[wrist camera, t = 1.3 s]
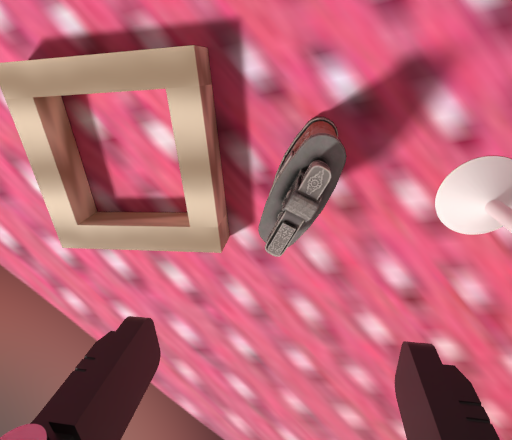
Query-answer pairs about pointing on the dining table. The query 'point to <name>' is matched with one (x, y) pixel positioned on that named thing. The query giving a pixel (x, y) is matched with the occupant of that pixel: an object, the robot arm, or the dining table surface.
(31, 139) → the square beige frame
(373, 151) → the dining table surface
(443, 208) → the champagne flute
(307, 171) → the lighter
